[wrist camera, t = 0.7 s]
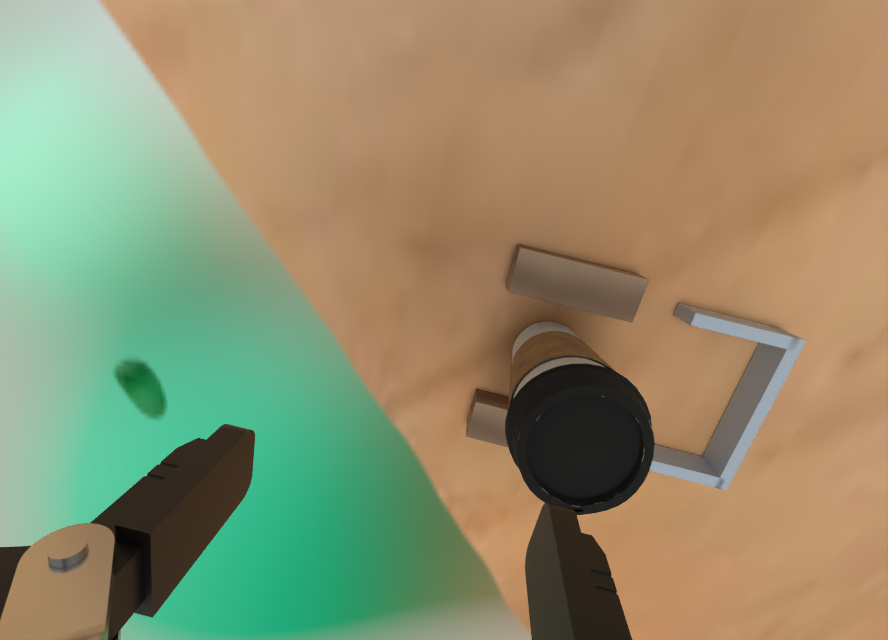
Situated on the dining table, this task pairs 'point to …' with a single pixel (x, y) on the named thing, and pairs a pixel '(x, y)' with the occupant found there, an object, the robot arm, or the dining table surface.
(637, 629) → the dining table surface
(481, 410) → the clamp blocks
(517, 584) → the dining table surface
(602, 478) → the coffee cup
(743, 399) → the corral
